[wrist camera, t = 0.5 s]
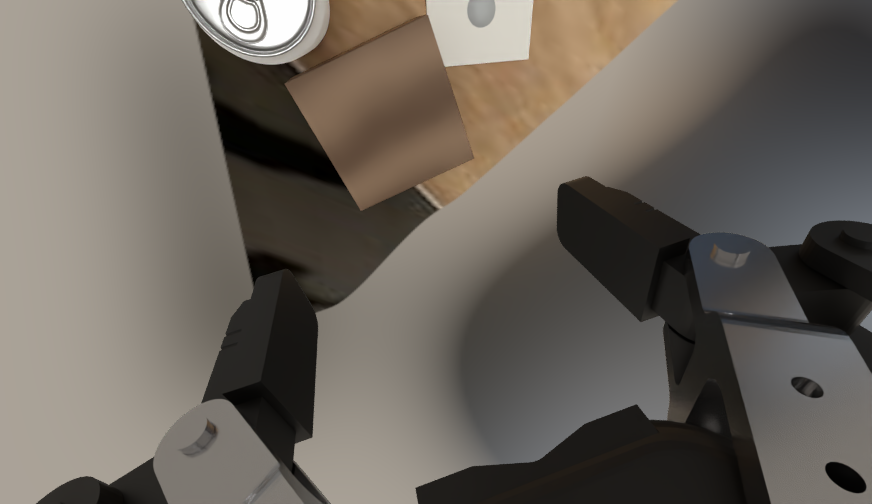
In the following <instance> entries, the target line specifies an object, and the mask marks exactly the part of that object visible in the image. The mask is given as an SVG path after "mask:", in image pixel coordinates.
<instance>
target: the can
mask: <svg viewBox="0 0 872 504" xmlns="http://www.w3.org/2000/svg"><path fill="white" fill-rule="evenodd" d="M182 2H183V3H184V5H185V7H186V8H187V10H188V11H189V13H190V14H191V15H192V17H193V18H194V19H195V20H196V22H197V23H198V24H199V25H200V27H201V28H202V29H203V30H204V31H205V32H206V33H207V34H208V35H209V36H210V37H211V38H212V39H213V40H214V41H215V42H217V43H218V44H219V45H220V46H222V47H223V48H225V49H226V50H228V51H229V52H231V53H233V54H234V55H236V56H238V57H241V58H243V59H246V60H248V61H252V62H255V63H260V64H270V65H274V64H283V63H287V62H291V61H293V60H296V59H298V58H300V57H302V56H303V55H305V54H307V53H308V52H310V51H311V50H313V49H314V48H315V47H316V46H318V44H319V43H320V42H321V41H322V39H323V38H324V36H325V34H326V31H327V29H328V25H329V19H330V5H329V0H182Z"/></svg>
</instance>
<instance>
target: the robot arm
mask: <svg viewBox="0 0 872 504" xmlns="http://www.w3.org/2000/svg"><path fill="white" fill-rule="evenodd" d="M557 233H558V237H559V240H560V242H561V244H562V245H563V246H564V248H565V249H566V250H567V251H568V252H569V253H570V254H571V255H572V256H573V257H574V258H576V259H577V260H578V261H579V262H580V263H581V264H582V265H583V266H584V267H585V268H586V269H587V270H588V271H589V272H590V273H591V274H592V275H593V276H594V277H595V278H596V279H597V280H598V281H599V282H600V283H601V284H602V285H603V286H604V287H605V288H607V290H608V291H609V292H610V293H611V294H612V295H614V296H615V297H616V298H617V299H618V300H619V301H620V302H621V303H622V304H623V305H624V306H625V307H626V308H627V309H628V310H629V311H630V312H631V313H632V314H633V315H634V316H635V317H636V318H637V319H638V320H639V321H640V322H643V321H645V320H648V319H651V318H654V317H656V316H660V317H661V318H663V319H664V320H665V323H664V326H663V337H664V346H665V356H666V365H667V374H668V384H669V396H670V397H669V408H668V416H667V421H666V420H649V419H648V418H647V417H646V415H645V414H644V413H643V412H642V411H641V409H640V408H639V407H638V405H634V406H631V407H628V408H626V409H623V410H620V411H618V412H615V413H612V414H610V415H607V416H605V417H602V418H599V419H596V420H594V421H591V422H589V423H586V424H584V425H583V426H582V427H580V428H579V429H578V430H577V431H575V432H574V433H573V434H571V435H570V436H569V437H568V438H566V439H565V440H564V441H563V442H561V443H560V444H559V445H558V446H556V447H555V448H554V449H553V450H551V452H549V453H548V454H546V455H545V456H544V457H543V458H541V459H540V460H538V461H535V462H530V463H515V464H500V465H486V466H472V467H469V468H467V469H464V470H462V471H459V472H456V473H454V474H451V475H448V476H446V477H443V478H440V479H438V480H435V481H432V482H430V483H427V484H424V485H422V486H419V487H417V488H416V493H417V499H418V504H872V332H870V331H868V330H867V329H865V328H863V327H862V326H860V323H861V322H862V321H863V320H864V319H865V318H866V316H867V315H868V314H869V313H870V311H871V310H872V224H868V223H862V222H855V221H827V222H822V223H819V224H817V225H815V226H813V227H812V228H811V230H810V231H809V233H808V235H807V237H806V239H805V240H804V242H803V244H800V245H788V246H777V247H767V246H766V245H764V244H763V243H761V242H759V241H757V240H755V239H752V238H750V237H746V236H743V235H739V234H734V233H726V232H712V233H706V234H699V233H697V232H695V231H693V230H692V229H690V228H688V227H687V226H685V225H683V224H681V223H680V222H678V221H676V220H675V219H673V218H671V217H669V216H667V215H666V214H664V213H662V212H661V211H659V210H654V208H653V207H652V206H650V205H649V204H647V203H645V202H644V203H642V201H641V200H640V199H638V198H636V197H635V196H633V195H631V194H629V193H628V192H624V191H621V190H617V189H614V188H610V187H605V186H604V185H602V184H600V183H599V182H597V181H595V180H594V179H592V178H590V177H587V176H585V177H582V178H579V179H575V180H572V181H569V182H566V183H563V184H561V185H560V186H559V188H558V199H557ZM317 338H318V322H317V318H316V314H315V311H314V309H313V307H312V305H311V304H310V302H309V300H308V299H307V297H306V295H305V294H304V292H303V290H302V289H301V287H300V286H299V284H298V282H297V281H296V279H295V277H294V276H293V274H292V273H291V272H290V271H289V270H288V269H284V270H281V271H278V272H274V273H271V274H268V275H265V276H262V277H259V278H258V279H257V280H256V283H255V286H254V290H253V293H252V296H251V299H250V300H246V301H244V302H243V303H242V304H241V306H240V307H239V308H238V309H237V311H236V312H235V313H234V315H233V316H232V317H231V320H230V323H229V325H228V329H227V331H226V337H224V340H223V343H222V345H221V349H222V350H221V351H219V355H218V357H217V360H216V363H215V366H214V369H213V371H212V374H211V377H210V380H209V383H208V386H207V388H206V391H205V394H204V397H203V400H202V403H201V404H200V405H198V406H196V407H194V408H193V409H191V410H190V411H188V412H187V413H186V414H184V415H183V416H182V417H181V418H180V419H179V420H177V421H176V423H175V424H174V425H173V426H172V427H171V428H170V429H169V430H168V432H167V433H166V434H165V436H164V437H163V439H162V440H161V442H160V444H159V446H158V448H157V450H156V453H155V456H154V457H153V458H151V459H150V460H148V461H147V462H145V463H143V464H142V465H140V466H139V467H137V468H135V469H134V470H132V471H131V472H129V473H127V474H126V475H124V476H123V477H121V478H119V479H118V480H116V481H115V482H113V483H111V484H110V485H108V484H106V483H104V482H101V481H99V480H97V479H95V478H93V477H88V476H86V477H80V478H76V479H74V480H71V481H69V482H67V483H65V484H63V485H61V486H59V487H58V488H56V489H55V490H53V491H52V492H50V493H49V494H47V495H46V496H45V497H44V498H42V499H41V500H40V501H39V502H38V503H36V504H331V503H330V502H329V501H328V500H327V498H326V497H325V496H324V495H323V494H322V492H321V491H320V490H319V489H318V488H317V487H316V485H315V484H314V483H313V482H312V481H311V480H310V478H309V477H308V476H307V475H306V473H305V472H304V471H303V470H302V469H301V468H300V467H299V465H298V464H297V463H296V462H295V461H294V460H293V456H294V446H295V443H298V442H301V441H304V440H306V439H309V438H312V434H313V414H314V396H315V376H316V358H317Z"/></svg>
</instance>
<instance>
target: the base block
mask: <svg viewBox="0 0 872 504" xmlns="http://www.w3.org/2000/svg"><path fill="white" fill-rule="evenodd" d="M285 86H286V87H287V89H288V91H289V92H290V94H291V96H292V97H293V99H294V100H295V102H296V104H297V105H298V107H299V109H300V110H301V112H302V114H303V115H304V117H305V119H306V120H307V122H308V124H309V125H310V127H311V129H312V130H313V132H314V134H315V135H316V137H317V139H318V140H319V142H320V144H321V145H322V147H323V149H324V150H325V152H326V154H327V155H328V157H329V159H330V160H331V162H332V164H333V165H334V167H335V169H336V170H337V172H338V174H339V175H340V177H341V178H342V180H343V182H344V183H345V185H346V187H347V188H348V190H349V192H350V193H351V195H352V197H353V198H354V200H355V202H356V203H357V205H358V207H359V208H360V210H361V211H362V210H364V209H366V208H368V207H370V206H372V205H375V204H377V203H379V202H381V201H383V200H385V199H387V198H390V197H392V196H394V195H396V194H398V193H400V192H403V191H405V190H407V189H409V188H411V187H413V186H416V185H418V184H420V183H422V182H424V181H426V180H428V179H431V178H433V177H435V176H437V175H439V174H441V173H444V172H446V171H448V170H450V169H452V168H454V167H457V166H459V165H461V164H463V163H465V162H467V161H469V160H472V159H474V156H473V153H472V150H471V147H470V144H469V141H468V138H467V135H466V131H465V128H464V125H463V122H462V119H461V116H460V113H459V110H458V107H457V103H456V100H455V97H454V94H453V91H452V88H451V85H450V82H449V79H448V76H447V72H446V69H445V66H444V63H443V60H442V57H441V54H440V51H439V48H438V45H437V41H436V38H435V35H434V32H433V29H432V26H431V23H430V20H429V17H428V15H424V16H419V17H416V18H414V19H412V20H410V21H408V22H406V23H404V24H402V25H399V26H397V27H395V28H393V29H391V30H389V31H387V32H385V33H383V34H381V35H379V36H377V37H375V38H372V39H370V40H368V41H366V42H364V43H362V44H360V45H358V46H356V47H354V48H352V49H350V50H348V51H345V52H343V53H341V54H339V55H337V56H335V57H333V58H331V59H329V60H327V61H325V62H323V63H321V64H318V65H316V66H314V67H312V68H310V69H308V70H306V71H304V72H302V73H300V74H298V75H296V76H294V77H292V78H291V79H289V80H288V81H287V82H286V83H285Z"/></svg>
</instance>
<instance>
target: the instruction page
mask: <svg viewBox="0 0 872 504" xmlns="http://www.w3.org/2000/svg"><path fill="white" fill-rule="evenodd" d="M532 9H533V0H426V12H427V15H428V17H429V20H430V23H431V26H432V29H433V32H434V35H435V38H436V41H437V45H438V48H439V51H440V54H441V57H442V60H443V63H444V66H445V67H448V66H459V65H470V64H481V63H492V62H503V61H514V60H525V59H528V58H529V45H530V33H531V21H532Z"/></svg>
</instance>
